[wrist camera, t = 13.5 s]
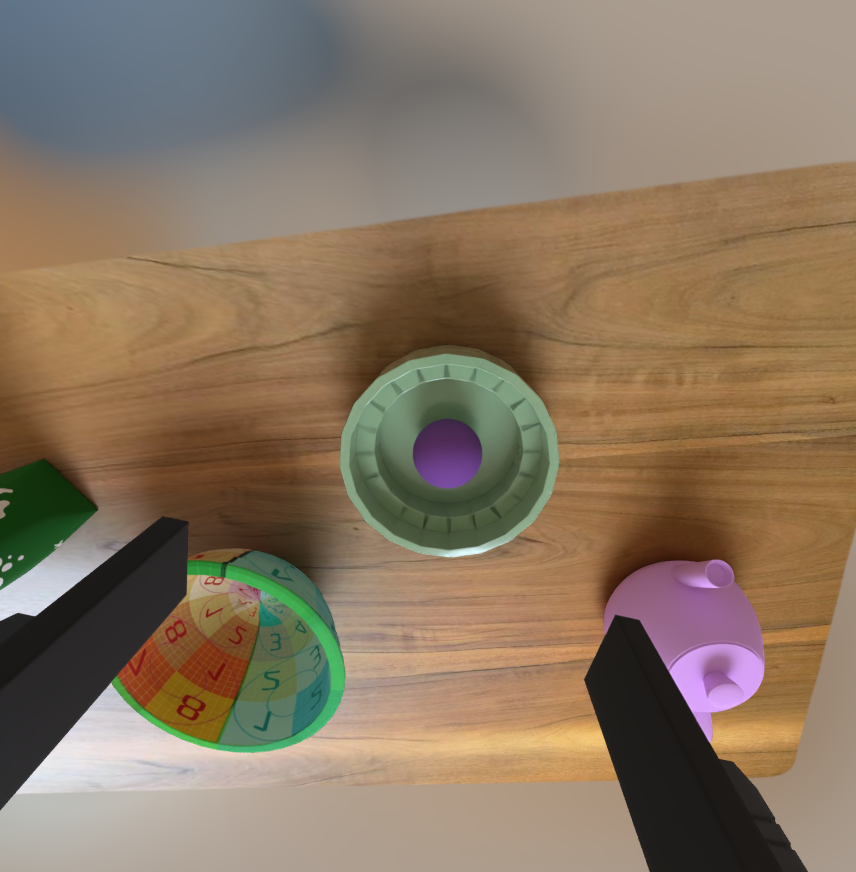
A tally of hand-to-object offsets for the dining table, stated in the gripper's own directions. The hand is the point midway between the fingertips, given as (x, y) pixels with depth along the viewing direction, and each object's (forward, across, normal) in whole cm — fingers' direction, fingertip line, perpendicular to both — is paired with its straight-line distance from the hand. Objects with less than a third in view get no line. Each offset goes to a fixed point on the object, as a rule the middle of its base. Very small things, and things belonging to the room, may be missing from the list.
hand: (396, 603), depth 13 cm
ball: (+26, +2, -4) cm, 26 cm away
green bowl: (+27, +2, -4) cm, 27 cm away
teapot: (+27, +29, -16) cm, 43 cm away
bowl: (+27, -13, -26) cm, 40 cm away
